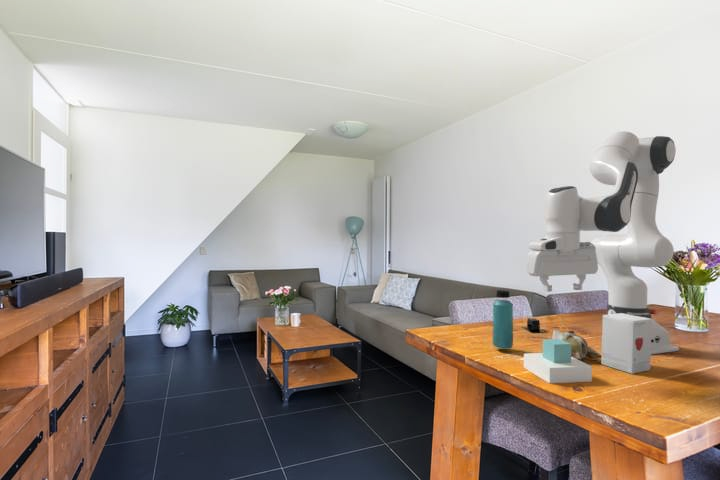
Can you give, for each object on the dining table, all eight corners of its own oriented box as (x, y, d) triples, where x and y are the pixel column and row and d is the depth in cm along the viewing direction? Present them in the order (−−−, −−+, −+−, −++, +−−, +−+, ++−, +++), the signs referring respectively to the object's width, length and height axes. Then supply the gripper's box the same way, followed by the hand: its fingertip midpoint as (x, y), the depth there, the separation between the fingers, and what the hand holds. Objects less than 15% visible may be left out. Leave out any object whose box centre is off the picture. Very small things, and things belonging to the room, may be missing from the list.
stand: (561, 365, 111) (561, 352, 111) (591, 381, 99) (592, 366, 99) (523, 367, 109) (523, 353, 109) (549, 383, 98) (549, 368, 98)
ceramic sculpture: (567, 323, 127) (608, 337, 113) (565, 348, 128) (606, 365, 114) (541, 325, 124) (580, 340, 110) (540, 351, 125) (578, 369, 111)
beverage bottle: (514, 354, 122) (515, 292, 121) (493, 352, 123) (494, 291, 123) (511, 348, 128) (511, 289, 128) (490, 346, 129) (491, 288, 129)
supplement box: (632, 374, 104) (633, 321, 104) (600, 364, 112) (601, 314, 112) (651, 370, 108) (653, 318, 108) (619, 360, 116) (620, 312, 116)
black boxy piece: (551, 335, 147) (551, 323, 147) (531, 335, 147) (531, 323, 147) (534, 327, 160) (534, 315, 160) (516, 327, 160) (516, 315, 160)
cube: (558, 356, 107) (559, 338, 107) (571, 362, 102) (571, 344, 102) (542, 357, 106) (542, 339, 106) (553, 363, 101) (554, 344, 101)
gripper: (587, 241, 113) (587, 287, 114) (523, 243, 110) (524, 290, 111) (603, 242, 107) (603, 290, 107) (536, 244, 104) (537, 294, 105)
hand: (562, 290), depth 109 cm, fingers open, 8 cm apart
